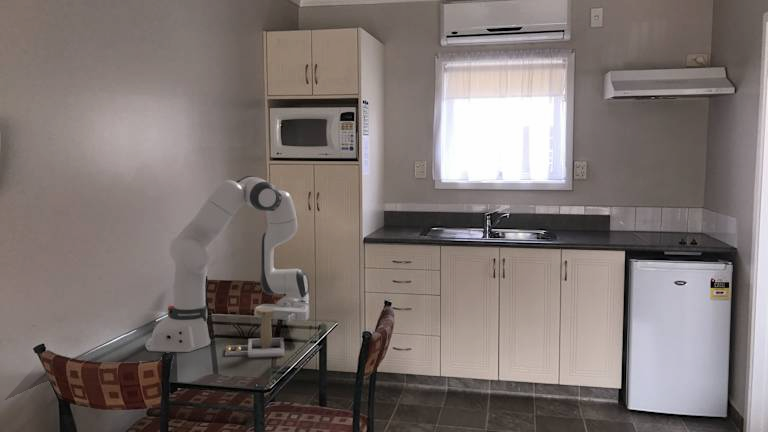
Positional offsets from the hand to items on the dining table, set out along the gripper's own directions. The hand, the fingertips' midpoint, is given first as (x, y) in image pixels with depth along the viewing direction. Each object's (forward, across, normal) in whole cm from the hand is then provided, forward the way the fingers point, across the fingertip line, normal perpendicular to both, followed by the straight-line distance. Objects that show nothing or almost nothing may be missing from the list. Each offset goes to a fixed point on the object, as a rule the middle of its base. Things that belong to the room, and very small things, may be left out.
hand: (274, 318), depth 240 cm
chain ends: (+9, -4, +10) cm, 14 cm away
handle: (+8, 0, +10) cm, 13 cm away
